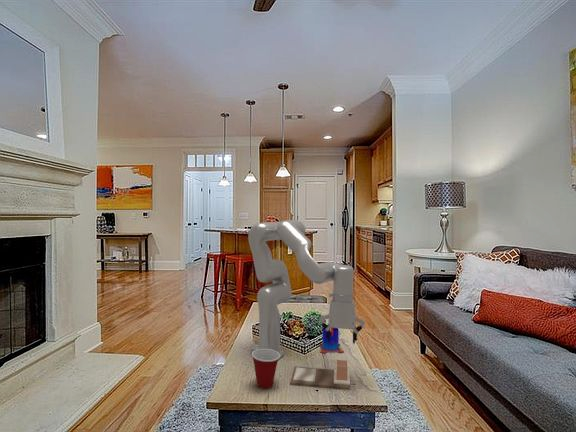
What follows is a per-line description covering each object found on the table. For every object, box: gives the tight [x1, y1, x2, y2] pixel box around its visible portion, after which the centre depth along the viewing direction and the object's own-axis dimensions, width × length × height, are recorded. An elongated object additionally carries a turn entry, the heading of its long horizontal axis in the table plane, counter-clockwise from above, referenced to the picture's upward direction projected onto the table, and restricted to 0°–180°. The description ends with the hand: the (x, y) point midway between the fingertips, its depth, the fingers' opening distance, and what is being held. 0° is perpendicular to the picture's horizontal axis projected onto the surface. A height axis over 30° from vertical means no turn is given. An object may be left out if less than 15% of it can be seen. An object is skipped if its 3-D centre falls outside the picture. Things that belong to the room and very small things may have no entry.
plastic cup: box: [251, 349, 281, 390], centre depth 130 cm, size 11×11×12 cm
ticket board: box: [289, 366, 350, 391], centre depth 135 cm, size 22×13×2 cm, turn 81°
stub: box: [333, 359, 351, 386], centre depth 134 cm, size 6×10×6 cm, turn 171°
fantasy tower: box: [318, 326, 345, 355], centre depth 164 cm, size 12×12×12 cm
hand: (341, 341), depth 134 cm, fingers open, 9 cm apart
